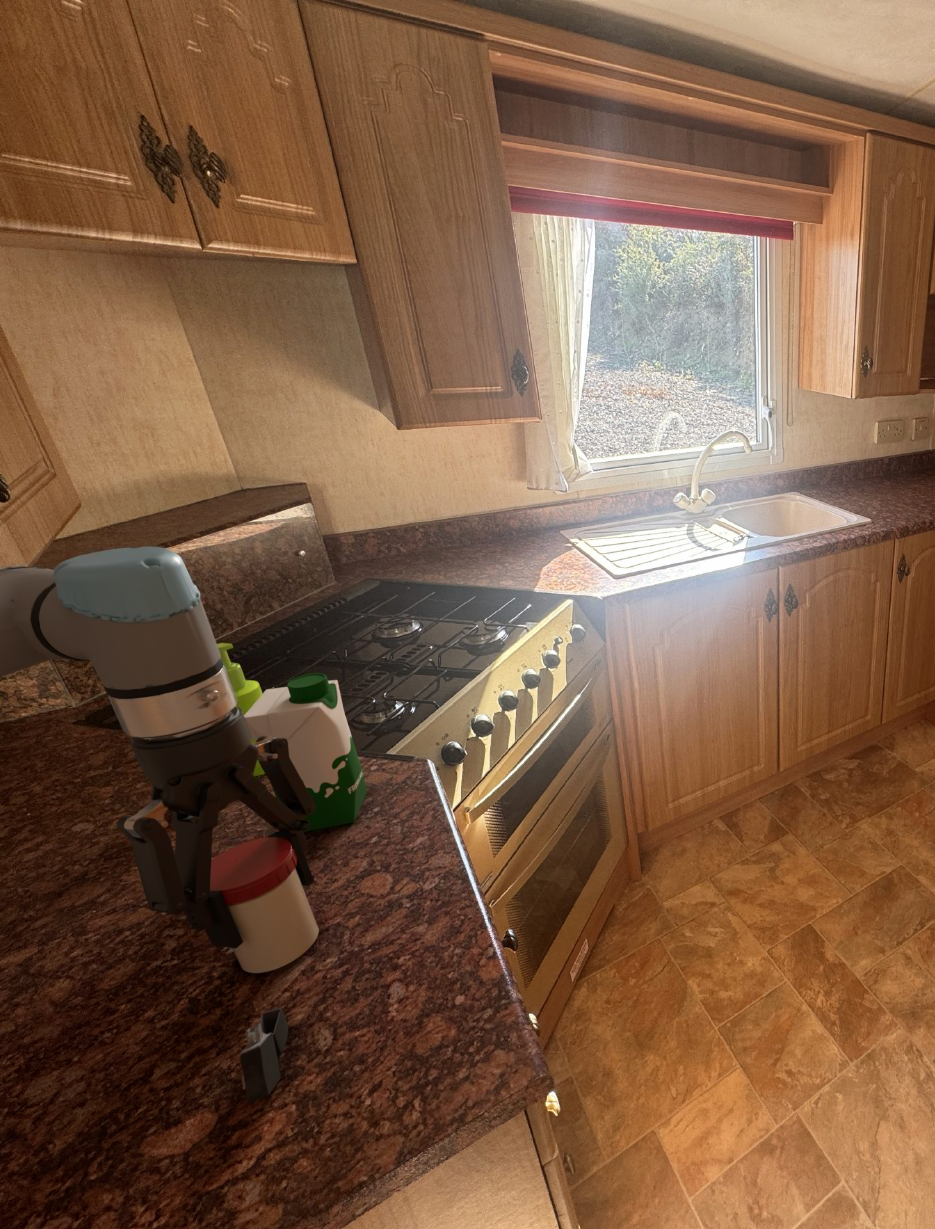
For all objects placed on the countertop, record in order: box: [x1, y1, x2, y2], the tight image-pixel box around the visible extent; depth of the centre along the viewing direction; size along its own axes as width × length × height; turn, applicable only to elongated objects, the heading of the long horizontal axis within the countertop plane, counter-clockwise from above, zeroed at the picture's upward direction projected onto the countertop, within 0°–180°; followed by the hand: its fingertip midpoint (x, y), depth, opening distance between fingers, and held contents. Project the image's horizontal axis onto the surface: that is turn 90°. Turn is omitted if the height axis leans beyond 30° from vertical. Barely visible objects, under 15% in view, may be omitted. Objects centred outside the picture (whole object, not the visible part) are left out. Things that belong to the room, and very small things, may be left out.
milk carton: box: [244, 672, 369, 833], centre depth 84 cm, size 9×9×20 cm
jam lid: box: [210, 836, 297, 905], centre depth 64 cm, size 7×7×2 cm
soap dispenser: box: [216, 642, 266, 777], centre depth 93 cm, size 6×7×20 cm
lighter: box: [239, 1007, 289, 1105], centre depth 56 cm, size 8×2×5 cm
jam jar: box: [227, 868, 320, 974], centre depth 66 cm, size 7×7×11 cm
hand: (266, 910), depth 66 cm, fingers closed on jam lid, 7 cm apart
